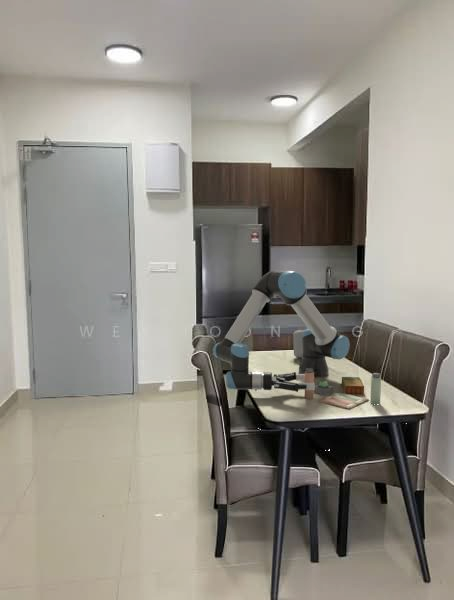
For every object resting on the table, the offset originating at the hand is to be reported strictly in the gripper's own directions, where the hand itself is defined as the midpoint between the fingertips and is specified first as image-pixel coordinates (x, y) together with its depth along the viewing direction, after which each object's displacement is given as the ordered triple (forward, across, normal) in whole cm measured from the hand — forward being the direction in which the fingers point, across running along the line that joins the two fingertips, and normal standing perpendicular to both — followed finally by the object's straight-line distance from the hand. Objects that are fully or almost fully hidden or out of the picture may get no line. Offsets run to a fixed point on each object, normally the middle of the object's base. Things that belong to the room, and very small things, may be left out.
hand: (313, 381), depth 194 cm
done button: (+5, -9, -4) cm, 11 cm away
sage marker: (+25, +6, -7) cm, 26 cm away
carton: (+19, -14, -8) cm, 25 cm away
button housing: (+6, -9, -7) cm, 12 cm away
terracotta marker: (-1, 0, -7) cm, 7 cm away
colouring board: (+12, +4, -7) cm, 15 cm away
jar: (+4, -77, -7) cm, 77 cm away
